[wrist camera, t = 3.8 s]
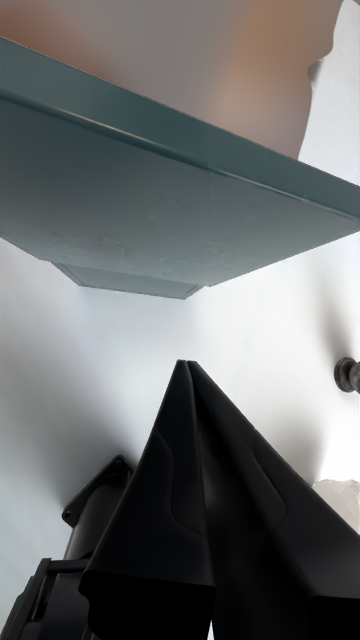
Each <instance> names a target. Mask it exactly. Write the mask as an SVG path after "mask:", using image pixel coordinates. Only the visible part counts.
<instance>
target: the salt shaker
mask: <svg viewBox="0 0 360 640" xmlns="http://www.w3.org/2000/svg"><path fill="white" fill-rule="evenodd" d="M335 381H336V383H337V385H338V387H339V388H340V389H341V390H342V391H344V392H347V393H350V392H353V391H354V390H356V391H357V392H358V393H359V394H360V362H358V363H356V362H355V361H354V360H353V359H351V358H347V357H345V358H342V359H341V360H340V361H339V362H338V363H337V365H336V368H335Z"/></svg>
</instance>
